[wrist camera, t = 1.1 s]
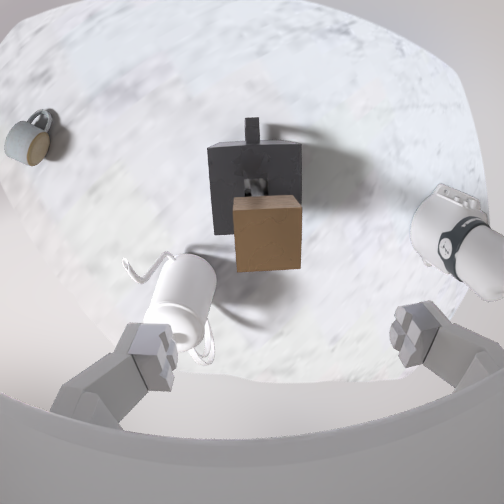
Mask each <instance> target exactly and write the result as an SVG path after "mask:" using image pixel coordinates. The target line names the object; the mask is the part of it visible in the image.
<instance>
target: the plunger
mask: <svg viewBox="0 0 504 504" xmlns="http://www.w3.org/2000/svg"><path fill="white" fill-rule="evenodd" d="M244 191H245V197H234V203H233V223H234V237H235V251H236V264H237V272H254V271H272V270H289V269H301V241H302V206H301V205H300V204H299V203H298V201H297V200H296V199H295V197H294V196H293V195H276V196H268V193H267V178H259V179H244Z"/></svg>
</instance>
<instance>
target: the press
mask: <svg viewBox="0 0 504 504" xmlns="http://www.w3.org/2000/svg"><path fill="white" fill-rule="evenodd" d="M207 152H208V166H209V179H210V191H211V203H212V214H213V225H214V235H230V234H234V223H233V203H234V197H245V191H244V179H259V178H267V193H268V196H276V195H293V196H294V197H295V199H296V200H297V201H298V203H299V204H300V205H301V201H302V161H301V144H298V143H294V142H289V141H284V140H260V132H259V117H256V118H245V141H235V142H220V143H217V144H215V145H213V146H210V147H208V148H207Z"/></svg>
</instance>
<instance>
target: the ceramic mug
mask: <svg viewBox="0 0 504 504" xmlns="http://www.w3.org/2000/svg"><path fill="white" fill-rule="evenodd" d="M40 114H44V115H46V116H47V118H48V123H47V125H46V127H45V129H44V130H42V129H40V128H38V127H36V126H34V125H32V124H31V123H32V121H33V120H34V119H35V118H36V117H37V116H38V115H40ZM51 123H52V116H51V114H50V113H49V112H48V111H46V110H43V109H41V110H38V111H36V112H35V113H34V114H33V115H32V116H31V117H30V118H29V119H28V121H27V122H26V121H20V122H18V123H16V124H15V125H14V126H13V127H12V129H11V130H10V131H9V133H8V135H7V137H6V140H5V145H4V150H5V154H6V155H7V156H8V157H10V158H12V159H15V160H17V161H19V162H21V163H23V164H26V165H29V166H35V165H37V164H39V163H40V162H41V161H42V160H43V158H44V157H45V155H46V153H47V151H48V148H49V143H50V139H49V135H48V134H47V132H48V130H49V129H50V126H51Z"/></svg>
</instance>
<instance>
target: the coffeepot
mask: <svg viewBox="0 0 504 504" xmlns="http://www.w3.org/2000/svg"><path fill="white" fill-rule="evenodd" d="M166 256H167V257H168V258H169V260H168V261H167V262H166V263H165V264H164V266H163V268H162V271H161V273H160V276H159V279H158V282H157V285H156V288H155V291H154V294H153V297H152V300H151V303H150V306H149V309H148V310H147V312H146V314H145V316H144V323H156V324H169V325H170V326H171V329H172V332H173V334H172V338H171V339H172V340H173V341H174V342H176V346H177V352H185V351H188V352H189V354H190V355H191V357H192V358H193V359H194V360H195V361H196V362H197V363H198V364H199V365H201V366H205V365H209V364H212V363H213V361H214V357H215V347H214V339H213V335H212V331H211V327H210V324H209V321H208V318H207V317H208V314H209V310H210V307H211V303H212V300H213V296H214V293H215V289H216V285H217V278H216V274H215V271H214V269H213V268H212V266H211V265H210V264H209V263H208V262H207V261H206V260H205V259H203V258H201V257H199V256H197V255H193V254H179V255H176V256H173V255H172V254H171V253H170V252H168V251H165V252H163V253H162V254H161V255H160V256H159V257H158V258H157V260H156V261H155V262H154V263H153V265H152V266H151V267H150V269H149V270H148V271H147V272H146V274H145V275H144V276H143V277H139V276H138V275H137V274H136V273H135V271H134V270H133V269H132V267H131V266H130V264H129V262H128V261H127V259H126V258H123V261H122V263H123V266H124V268H125V270H126V271H127V273H128V274H129V275H130V277H131V278H132V279H133V280H134V281H135V282H137V283H139V284H144V283H146V282H147V281H148V280H149V278H150V277H151V276H152V274H153V273H154V272H155V270H156V269H157V267H158V266H159V265H160V263H161V262H162V261H163V259H164V258H165V257H166ZM204 334H205V349H204V353H203V355H200V354H198V353H197V351H196V350H195V348H194V347H196V346H197V345H198V344H200V342H201V341H202V340H203V338H204ZM208 355H209V357H208V361H207V363H206V362H204V361H203V360H202V359H201V358H203V357H207V356H208Z"/></svg>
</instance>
